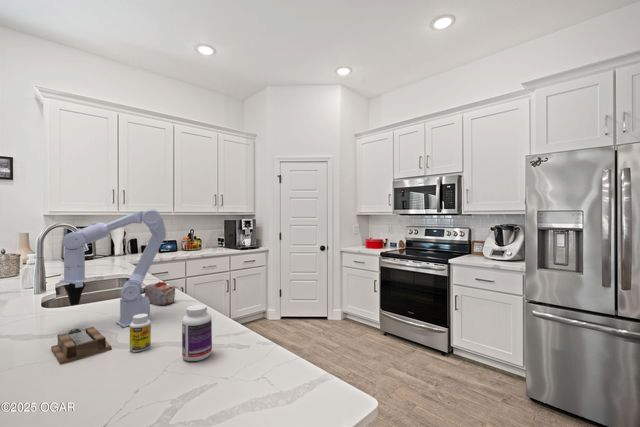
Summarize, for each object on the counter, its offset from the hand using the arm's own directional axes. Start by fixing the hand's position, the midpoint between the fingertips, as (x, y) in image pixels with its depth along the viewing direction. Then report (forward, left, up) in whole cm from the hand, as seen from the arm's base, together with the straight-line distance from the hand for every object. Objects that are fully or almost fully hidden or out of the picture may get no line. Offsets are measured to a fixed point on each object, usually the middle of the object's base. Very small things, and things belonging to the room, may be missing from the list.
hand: (74, 304), depth 106 cm
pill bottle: (-19, +51, -10) cm, 55 cm away
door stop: (+2, +18, -9) cm, 20 cm away
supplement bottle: (-10, +33, -10) cm, 36 cm away
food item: (-33, -11, -10) cm, 36 cm away
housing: (+2, +20, -9) cm, 22 cm away
